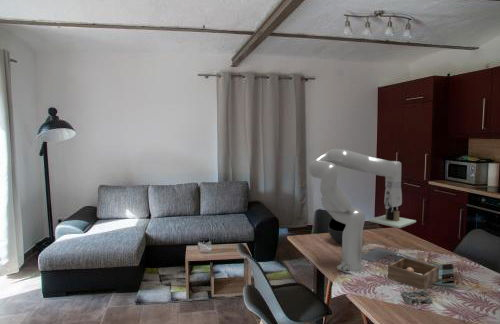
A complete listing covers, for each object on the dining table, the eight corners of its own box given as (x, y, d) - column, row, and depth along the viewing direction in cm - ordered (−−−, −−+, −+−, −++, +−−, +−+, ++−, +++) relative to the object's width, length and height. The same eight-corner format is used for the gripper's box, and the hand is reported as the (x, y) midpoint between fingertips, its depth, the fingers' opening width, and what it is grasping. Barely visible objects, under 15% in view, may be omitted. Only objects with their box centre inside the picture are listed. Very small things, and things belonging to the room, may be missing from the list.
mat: (396, 269, 166) (396, 268, 166) (357, 257, 183) (357, 256, 183) (416, 259, 180) (416, 258, 180) (378, 248, 197) (378, 247, 197)
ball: (412, 277, 155) (412, 269, 155) (404, 274, 158) (404, 267, 158) (415, 275, 158) (415, 267, 157) (407, 272, 160) (408, 265, 160)
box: (423, 292, 142) (424, 276, 142) (387, 280, 154) (388, 265, 154) (438, 281, 152) (439, 267, 152) (403, 271, 165) (404, 257, 164)
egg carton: (427, 298, 137) (427, 289, 137) (433, 307, 130) (434, 297, 130) (399, 296, 139) (400, 286, 139) (404, 305, 132) (405, 295, 132)
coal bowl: (349, 237, 219) (350, 209, 218) (367, 247, 200) (368, 216, 199) (322, 240, 214) (322, 211, 213) (338, 250, 195) (338, 218, 194)
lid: (399, 228, 164) (399, 216, 163) (368, 221, 177) (369, 210, 177) (416, 222, 174) (416, 211, 174) (385, 216, 188) (386, 205, 187)
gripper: (391, 187, 166) (390, 222, 168) (407, 183, 176) (406, 217, 178) (378, 185, 172) (377, 220, 174) (394, 182, 182) (393, 215, 184)
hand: (392, 218), depth 176 cm, fingers closed on lid, 3 cm apart
